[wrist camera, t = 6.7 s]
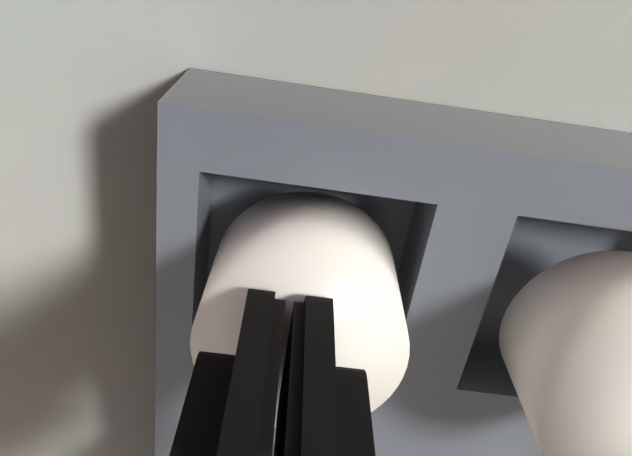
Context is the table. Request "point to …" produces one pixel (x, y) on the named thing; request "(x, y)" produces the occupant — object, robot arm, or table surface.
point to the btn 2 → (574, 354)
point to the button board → (389, 231)
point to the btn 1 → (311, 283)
